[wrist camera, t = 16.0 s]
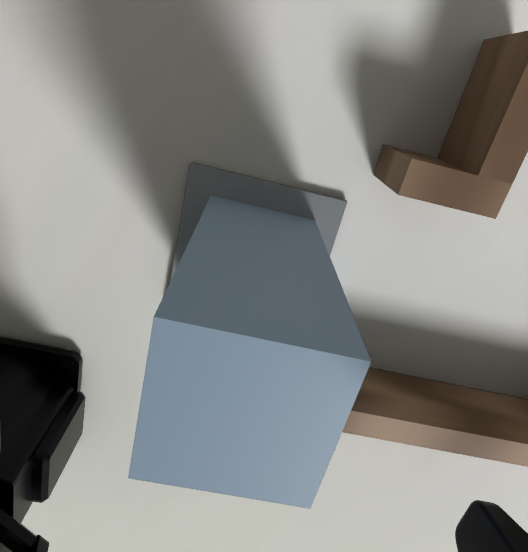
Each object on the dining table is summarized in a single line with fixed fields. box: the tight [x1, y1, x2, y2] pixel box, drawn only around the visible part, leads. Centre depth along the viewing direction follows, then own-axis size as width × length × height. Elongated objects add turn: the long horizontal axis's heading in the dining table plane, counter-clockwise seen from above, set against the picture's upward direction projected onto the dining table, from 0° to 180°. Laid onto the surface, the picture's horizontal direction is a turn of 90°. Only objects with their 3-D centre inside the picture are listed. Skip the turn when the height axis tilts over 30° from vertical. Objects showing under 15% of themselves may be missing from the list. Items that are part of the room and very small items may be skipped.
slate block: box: [128, 195, 371, 509], centre depth 14 cm, size 4×4×10 cm
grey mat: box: [170, 163, 347, 281], centre depth 19 cm, size 6×6×1 cm
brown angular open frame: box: [342, 31, 528, 466], centre depth 17 cm, size 14×16×4 cm
